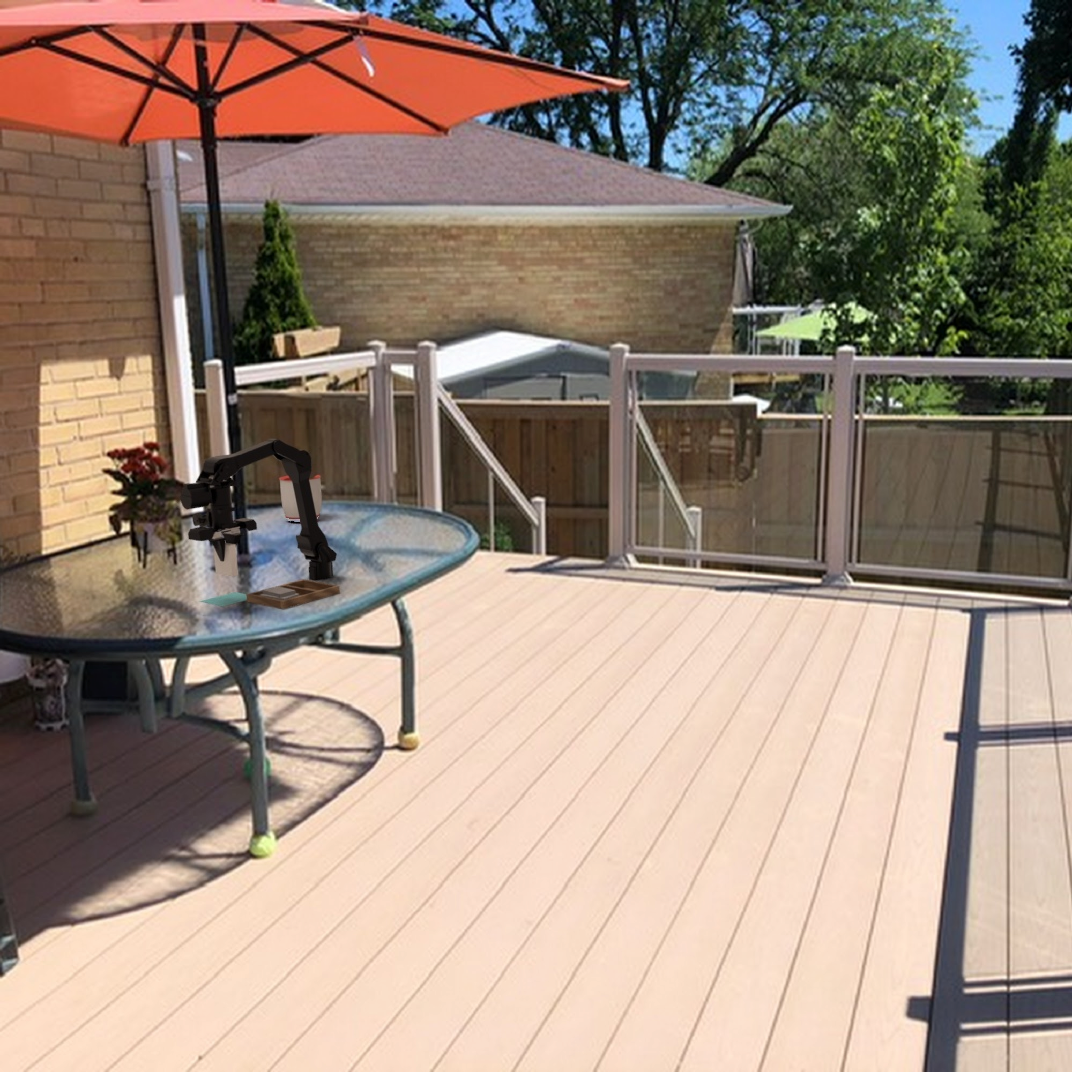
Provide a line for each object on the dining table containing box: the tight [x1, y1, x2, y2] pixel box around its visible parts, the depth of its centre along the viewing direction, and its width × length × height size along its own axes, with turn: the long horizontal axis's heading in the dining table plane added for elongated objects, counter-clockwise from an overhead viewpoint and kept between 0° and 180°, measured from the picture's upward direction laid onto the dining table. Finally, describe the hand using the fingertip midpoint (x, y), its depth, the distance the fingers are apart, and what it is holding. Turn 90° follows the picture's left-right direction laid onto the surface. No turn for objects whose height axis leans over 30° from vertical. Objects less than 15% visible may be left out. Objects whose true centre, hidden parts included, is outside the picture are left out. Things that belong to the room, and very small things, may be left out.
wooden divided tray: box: [245, 579, 341, 610], centre depth 304 cm, size 20×15×3 cm
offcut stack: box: [260, 585, 299, 600], centre depth 299 cm, size 6×11×3 cm, turn 53°
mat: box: [199, 591, 247, 607], centre depth 304 cm, size 12×10×1 cm
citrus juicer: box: [279, 474, 323, 519], centre depth 422 cm, size 16×17×20 cm
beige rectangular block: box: [213, 542, 239, 577], centre depth 301 cm, size 2×7×8 cm, turn 53°
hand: (225, 560), depth 301 cm, fingers closed on beige rectangular block, 2 cm apart
